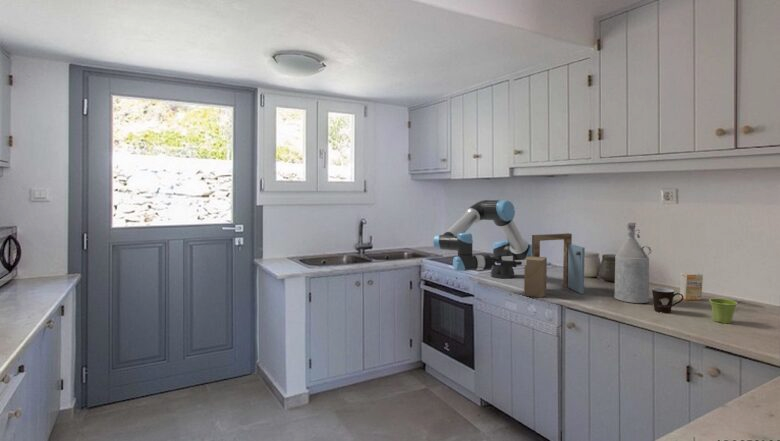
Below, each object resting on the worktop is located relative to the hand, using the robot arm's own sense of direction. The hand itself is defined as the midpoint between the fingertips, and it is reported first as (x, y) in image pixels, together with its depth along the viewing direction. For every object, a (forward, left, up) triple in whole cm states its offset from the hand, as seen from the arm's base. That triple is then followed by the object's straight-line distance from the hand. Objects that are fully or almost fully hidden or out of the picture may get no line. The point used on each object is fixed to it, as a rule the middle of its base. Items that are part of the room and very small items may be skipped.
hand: (519, 260), depth 228 cm
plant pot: (+64, +58, -19) cm, 88 cm away
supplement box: (+32, +78, -19) cm, 86 cm away
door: (0, +34, -19) cm, 39 cm away
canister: (+25, +49, -19) cm, 58 cm away
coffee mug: (+46, +48, -19) cm, 69 cm away
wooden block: (0, +10, -19) cm, 22 cm away
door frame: (-10, +27, -19) cm, 34 cm away
